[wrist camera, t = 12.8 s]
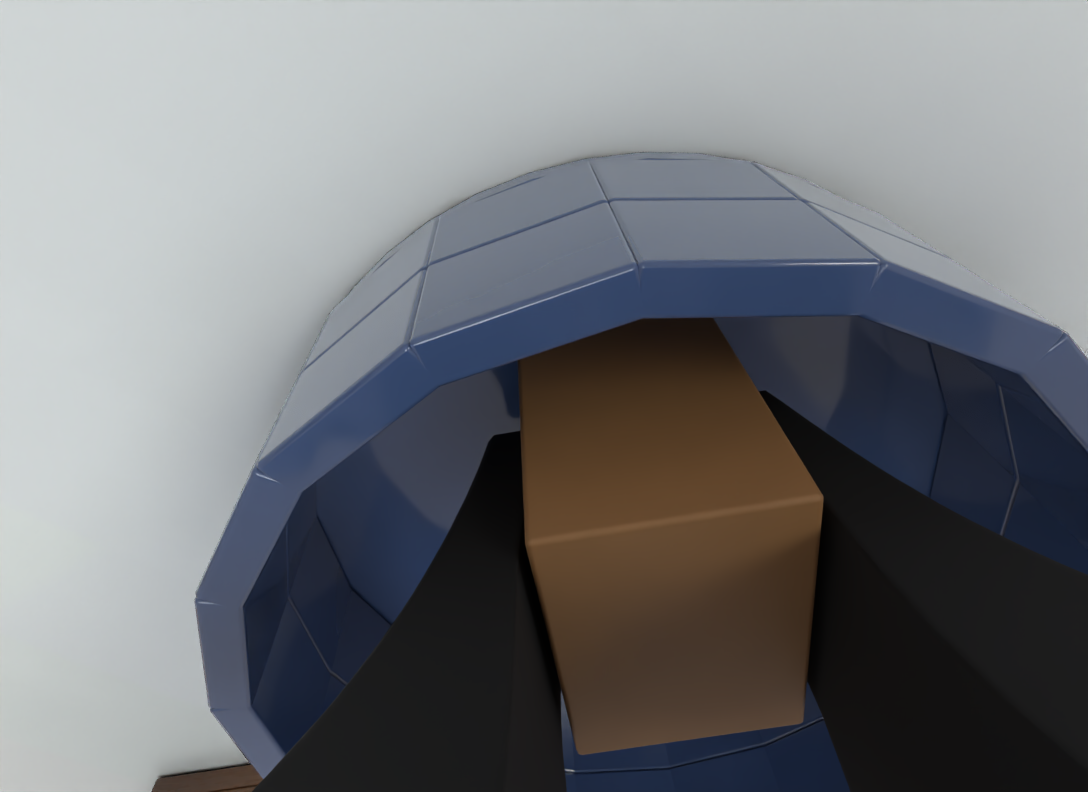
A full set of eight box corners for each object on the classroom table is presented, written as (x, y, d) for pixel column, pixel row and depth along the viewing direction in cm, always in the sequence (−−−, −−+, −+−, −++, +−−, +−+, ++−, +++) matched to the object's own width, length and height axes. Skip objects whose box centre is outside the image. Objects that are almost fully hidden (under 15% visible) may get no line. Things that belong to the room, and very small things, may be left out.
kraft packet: (705, 303, 10) (827, 496, 6) (712, 495, 12) (805, 725, 9) (515, 336, 10) (523, 543, 7) (554, 520, 12) (577, 758, 9)
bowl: (1034, 69, 10) (1384, 132, 6) (906, 643, 17) (1025, 837, 13) (158, 229, 10) (-46, 383, 6) (401, 718, 17) (373, 926, 14)
